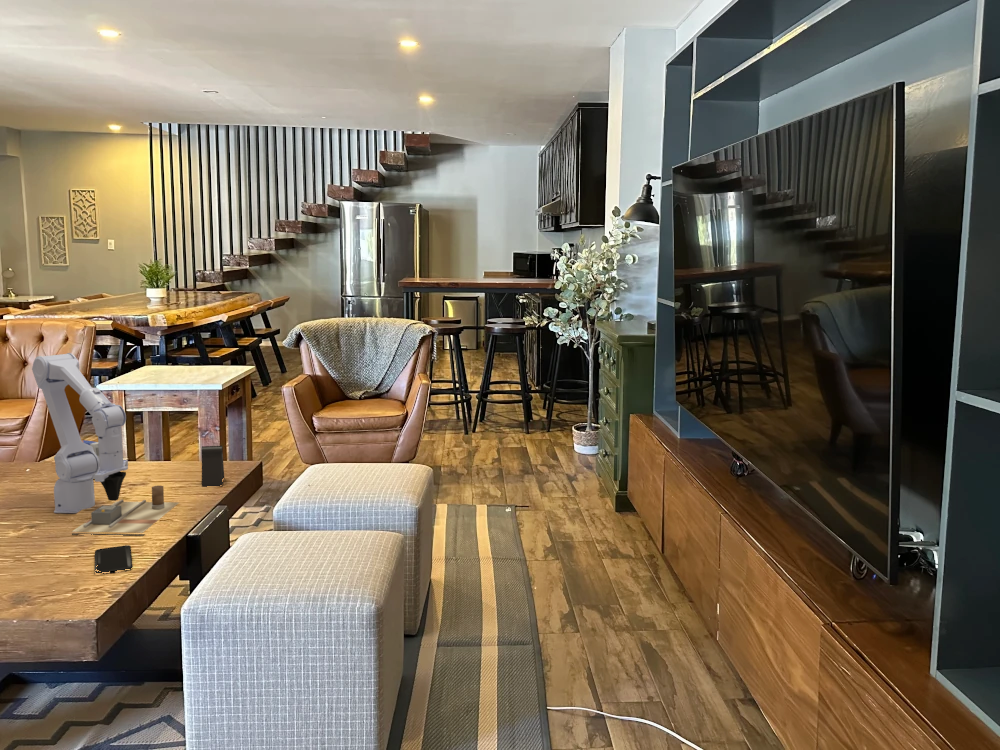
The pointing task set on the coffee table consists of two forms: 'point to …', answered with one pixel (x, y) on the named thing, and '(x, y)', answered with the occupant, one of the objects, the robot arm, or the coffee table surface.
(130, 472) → the coffee table surface
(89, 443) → the walkman
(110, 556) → the phone
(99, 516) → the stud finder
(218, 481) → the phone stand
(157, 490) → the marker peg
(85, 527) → the cream ridged tray
